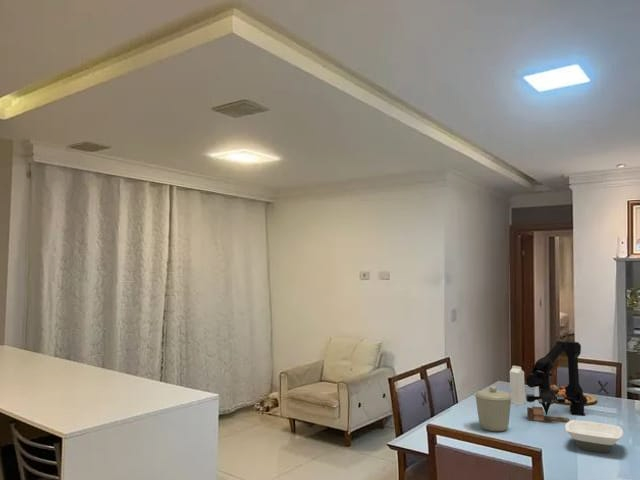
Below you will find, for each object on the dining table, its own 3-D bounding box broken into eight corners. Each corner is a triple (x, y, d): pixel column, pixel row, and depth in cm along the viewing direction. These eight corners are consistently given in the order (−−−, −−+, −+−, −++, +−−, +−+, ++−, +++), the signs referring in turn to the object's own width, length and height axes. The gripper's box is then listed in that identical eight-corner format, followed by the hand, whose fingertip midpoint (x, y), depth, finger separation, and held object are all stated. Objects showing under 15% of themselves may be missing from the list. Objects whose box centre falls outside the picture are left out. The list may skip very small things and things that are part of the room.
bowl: (623, 460, 210) (622, 439, 211) (562, 450, 222) (562, 430, 223) (624, 445, 229) (623, 426, 230) (568, 436, 241) (568, 418, 242)
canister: (499, 422, 264) (499, 381, 266) (520, 433, 247) (519, 389, 248) (468, 424, 260) (467, 382, 262) (487, 435, 243) (486, 390, 244)
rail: (567, 419, 268) (567, 410, 269) (570, 423, 262) (569, 413, 262) (527, 416, 274) (527, 407, 275) (528, 420, 268) (528, 410, 268)
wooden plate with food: (602, 408, 293) (602, 393, 293) (543, 403, 302) (542, 389, 303) (590, 396, 323) (590, 383, 324) (536, 392, 332) (536, 379, 333)
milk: (519, 405, 298) (518, 367, 299) (510, 403, 303) (509, 365, 304) (525, 403, 302) (524, 366, 303) (515, 401, 307) (515, 364, 308)
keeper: (542, 417, 272) (541, 407, 272) (543, 420, 266) (543, 410, 266) (532, 416, 274) (531, 406, 274) (533, 420, 267) (533, 409, 267)
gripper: (526, 387, 265) (529, 418, 263) (565, 388, 259) (568, 419, 258) (524, 383, 275) (527, 412, 274) (562, 384, 270) (564, 414, 269)
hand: (546, 415), depth 268 cm, fingers closed
